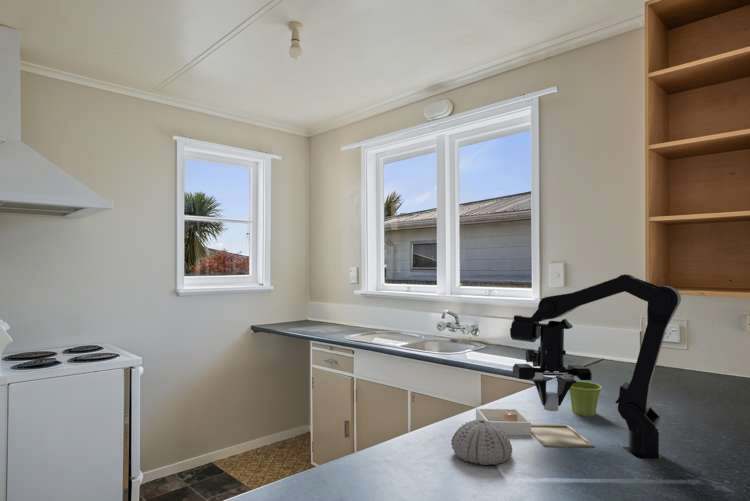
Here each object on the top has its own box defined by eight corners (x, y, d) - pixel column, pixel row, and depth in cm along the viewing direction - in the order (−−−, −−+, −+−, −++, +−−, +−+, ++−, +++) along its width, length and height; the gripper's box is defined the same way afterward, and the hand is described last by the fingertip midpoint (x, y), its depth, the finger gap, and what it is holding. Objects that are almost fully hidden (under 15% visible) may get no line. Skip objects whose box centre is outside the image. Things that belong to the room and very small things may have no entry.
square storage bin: (530, 437, 118) (531, 422, 118) (486, 436, 117) (486, 422, 117) (516, 422, 129) (516, 408, 129) (475, 421, 128) (476, 408, 128)
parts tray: (594, 449, 110) (594, 445, 110) (543, 448, 110) (544, 444, 110) (568, 428, 124) (568, 424, 124) (523, 428, 124) (523, 424, 124)
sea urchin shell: (440, 449, 109) (441, 414, 109) (490, 443, 113) (490, 409, 114) (472, 474, 96) (472, 434, 96) (526, 465, 101) (526, 428, 101)
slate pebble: (560, 411, 119) (561, 395, 119) (546, 411, 119) (547, 395, 119) (554, 407, 123) (555, 391, 123) (541, 406, 123) (541, 391, 123)
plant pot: (605, 421, 131) (605, 390, 131) (569, 418, 133) (570, 387, 133) (596, 411, 140) (597, 382, 141) (563, 408, 142) (563, 380, 142)
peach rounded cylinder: (519, 431, 119) (519, 416, 120) (505, 431, 119) (505, 415, 119) (514, 426, 123) (514, 411, 123) (501, 426, 123) (501, 411, 123)
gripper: (573, 340, 130) (572, 397, 129) (506, 338, 129) (505, 395, 129) (593, 347, 118) (592, 409, 118) (520, 346, 118) (519, 408, 117)
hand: (551, 405), depth 121 cm, fingers closed on slate pebble, 4 cm apart
